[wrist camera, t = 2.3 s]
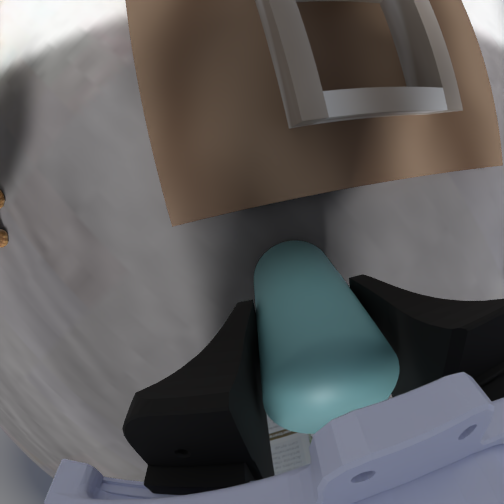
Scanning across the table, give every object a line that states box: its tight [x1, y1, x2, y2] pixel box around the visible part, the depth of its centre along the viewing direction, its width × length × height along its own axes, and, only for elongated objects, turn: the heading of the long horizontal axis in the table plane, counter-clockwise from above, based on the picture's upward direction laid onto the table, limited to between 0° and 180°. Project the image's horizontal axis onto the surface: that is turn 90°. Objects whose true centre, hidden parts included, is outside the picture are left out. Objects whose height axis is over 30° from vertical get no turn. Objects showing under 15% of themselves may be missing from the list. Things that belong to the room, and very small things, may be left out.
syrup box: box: [266, 413, 314, 475], centre depth 12 cm, size 6×6×14 cm
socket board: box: [126, 0, 503, 227], centre depth 10 cm, size 20×14×4 cm
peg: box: [254, 240, 400, 434], centre depth 11 cm, size 4×4×8 cm
